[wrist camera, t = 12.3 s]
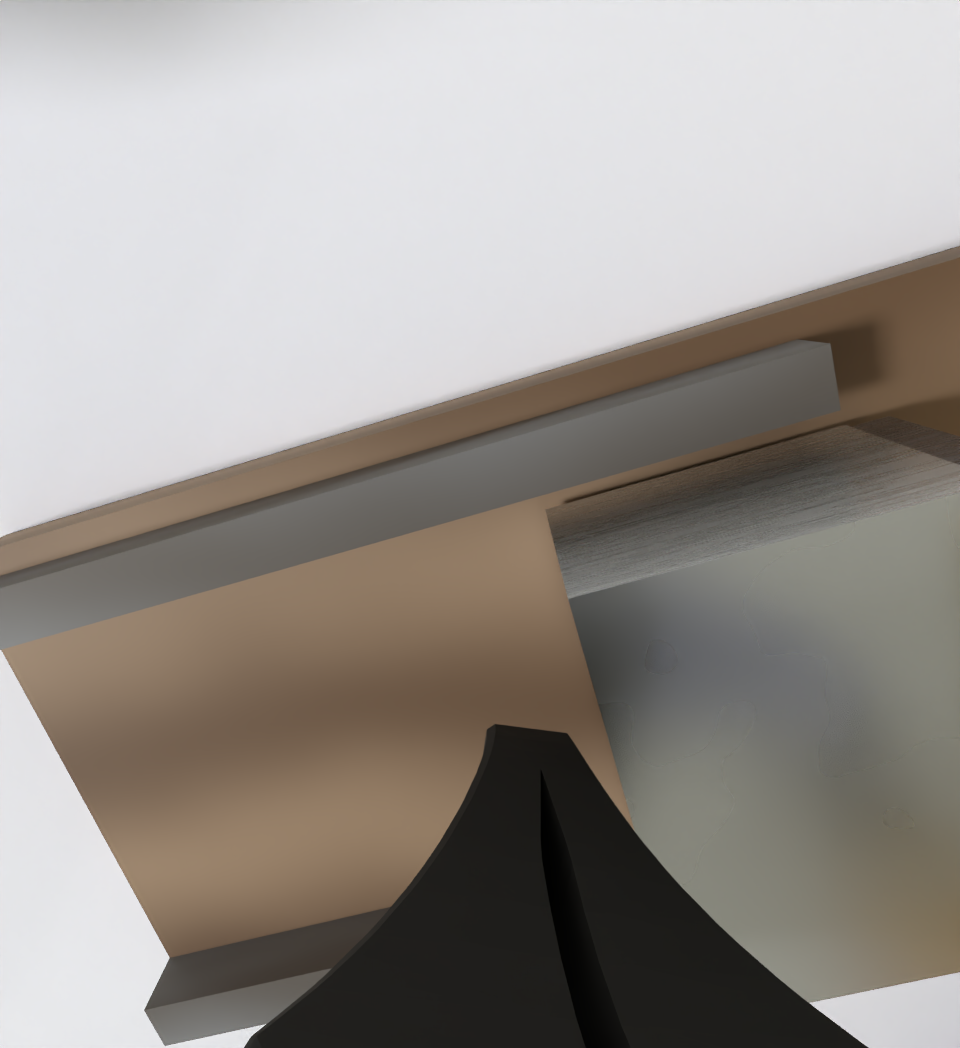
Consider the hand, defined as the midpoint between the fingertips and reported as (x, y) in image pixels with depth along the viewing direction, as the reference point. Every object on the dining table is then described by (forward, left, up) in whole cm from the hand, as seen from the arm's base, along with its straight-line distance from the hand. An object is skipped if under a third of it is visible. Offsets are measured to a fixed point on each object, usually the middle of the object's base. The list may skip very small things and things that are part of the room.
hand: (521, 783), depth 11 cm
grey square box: (0, +4, -2) cm, 5 cm away
